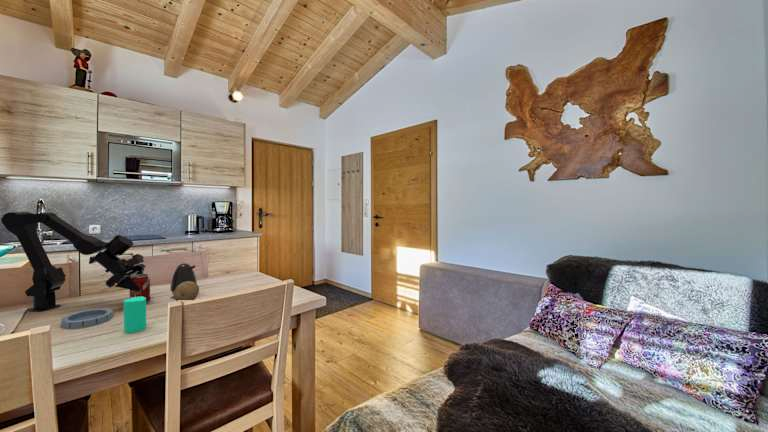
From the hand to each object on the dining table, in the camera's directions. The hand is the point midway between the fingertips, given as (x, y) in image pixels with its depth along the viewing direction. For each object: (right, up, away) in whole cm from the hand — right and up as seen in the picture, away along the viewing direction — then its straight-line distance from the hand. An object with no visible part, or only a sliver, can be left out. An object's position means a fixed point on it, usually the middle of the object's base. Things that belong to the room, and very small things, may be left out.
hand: (143, 287), depth 126 cm
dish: (-5, -7, -19) cm, 21 cm away
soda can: (-2, -7, 0) cm, 7 cm away
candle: (+16, -9, -24) cm, 30 cm away
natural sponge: (+18, -7, 0) cm, 19 cm away
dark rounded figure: (+10, -7, +11) cm, 16 cm away
